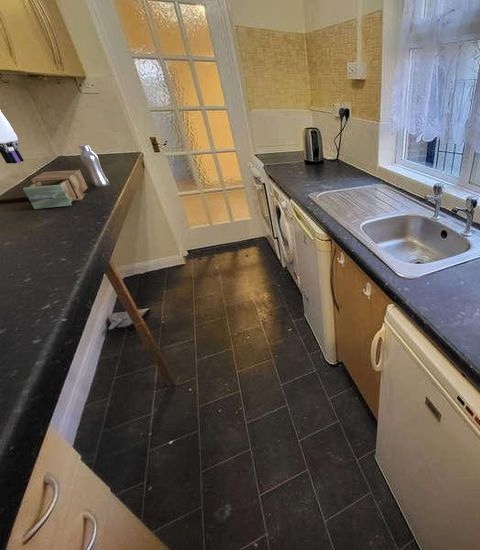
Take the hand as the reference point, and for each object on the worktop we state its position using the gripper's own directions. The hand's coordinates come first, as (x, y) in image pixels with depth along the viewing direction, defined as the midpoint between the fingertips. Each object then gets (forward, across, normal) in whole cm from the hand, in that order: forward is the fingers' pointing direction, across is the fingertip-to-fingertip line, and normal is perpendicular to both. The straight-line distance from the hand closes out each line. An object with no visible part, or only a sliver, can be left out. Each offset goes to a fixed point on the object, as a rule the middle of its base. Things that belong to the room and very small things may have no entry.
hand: (15, 161), depth 116 cm
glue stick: (0, 0, 0) cm, 0 cm away
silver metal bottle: (+17, -24, +13) cm, 32 cm away
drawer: (+16, +3, +8) cm, 19 cm away
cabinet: (+17, -10, +5) cm, 21 cm away
